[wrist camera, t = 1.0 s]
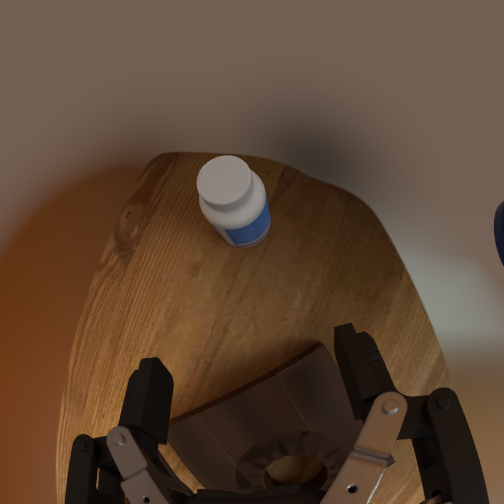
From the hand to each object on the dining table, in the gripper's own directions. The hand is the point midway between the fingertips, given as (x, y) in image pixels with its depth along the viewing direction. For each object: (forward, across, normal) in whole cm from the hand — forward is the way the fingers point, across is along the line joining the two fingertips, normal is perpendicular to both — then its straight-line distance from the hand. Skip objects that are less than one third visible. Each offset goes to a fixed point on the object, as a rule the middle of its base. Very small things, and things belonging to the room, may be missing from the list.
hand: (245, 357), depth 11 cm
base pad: (+2, +1, +19) cm, 19 cm away
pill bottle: (+18, 0, +2) cm, 19 cm away
